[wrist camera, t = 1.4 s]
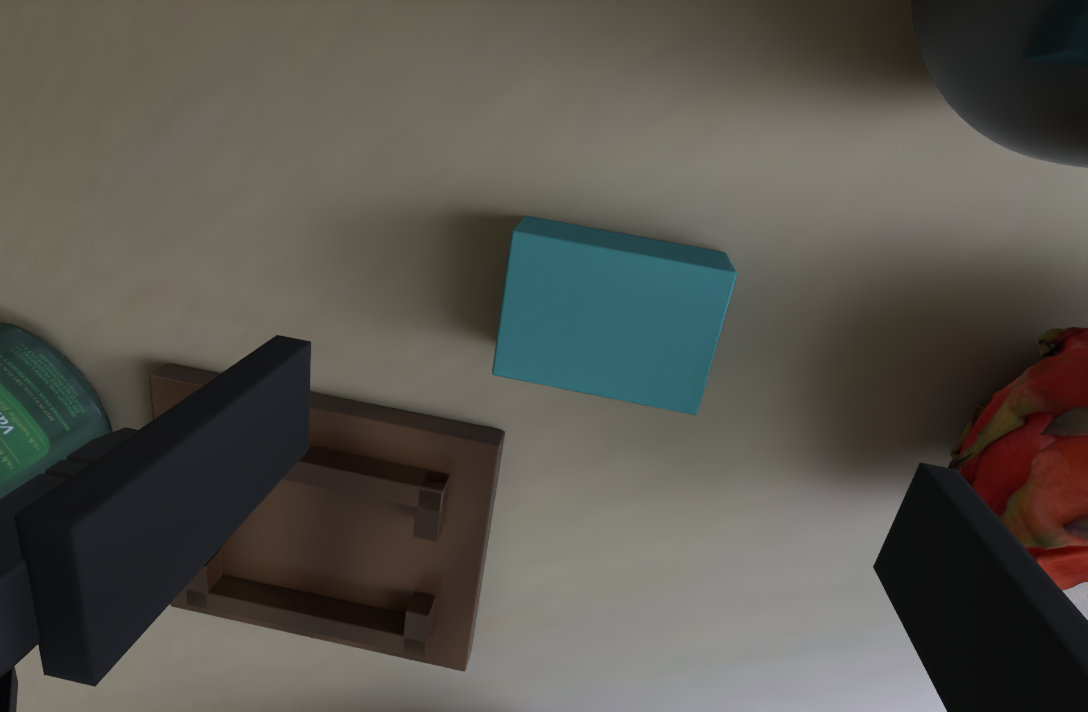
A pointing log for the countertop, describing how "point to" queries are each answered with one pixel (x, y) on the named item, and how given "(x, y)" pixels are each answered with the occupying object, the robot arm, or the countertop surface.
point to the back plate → (360, 531)
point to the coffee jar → (41, 408)
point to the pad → (611, 314)
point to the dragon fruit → (1038, 456)
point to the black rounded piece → (1012, 70)
